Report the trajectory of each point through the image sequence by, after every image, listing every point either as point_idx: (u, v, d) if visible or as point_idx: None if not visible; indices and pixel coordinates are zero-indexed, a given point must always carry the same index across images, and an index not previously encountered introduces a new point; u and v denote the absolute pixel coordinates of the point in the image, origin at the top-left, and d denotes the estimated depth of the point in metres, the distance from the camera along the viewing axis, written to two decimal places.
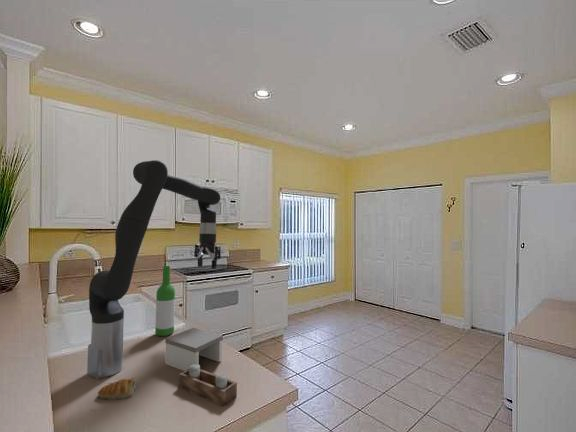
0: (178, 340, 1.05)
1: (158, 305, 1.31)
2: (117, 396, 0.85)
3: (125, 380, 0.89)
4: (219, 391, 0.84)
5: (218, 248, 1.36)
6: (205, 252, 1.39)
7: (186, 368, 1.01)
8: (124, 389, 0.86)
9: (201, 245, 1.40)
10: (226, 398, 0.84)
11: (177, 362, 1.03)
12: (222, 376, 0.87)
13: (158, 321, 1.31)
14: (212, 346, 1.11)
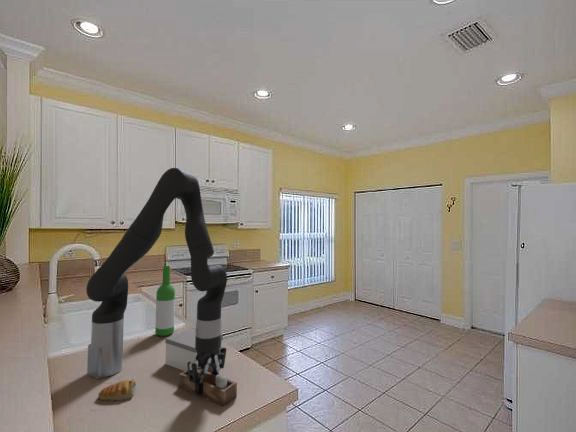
0: (178, 340, 1.05)
1: (158, 305, 1.31)
2: (118, 397, 0.85)
3: (126, 381, 0.88)
4: (219, 391, 0.84)
5: None
6: (210, 364, 0.89)
7: (186, 368, 1.01)
8: (125, 390, 0.85)
9: (203, 357, 0.87)
10: (226, 398, 0.84)
11: (177, 362, 1.03)
12: (222, 376, 0.87)
13: (158, 321, 1.31)
14: None
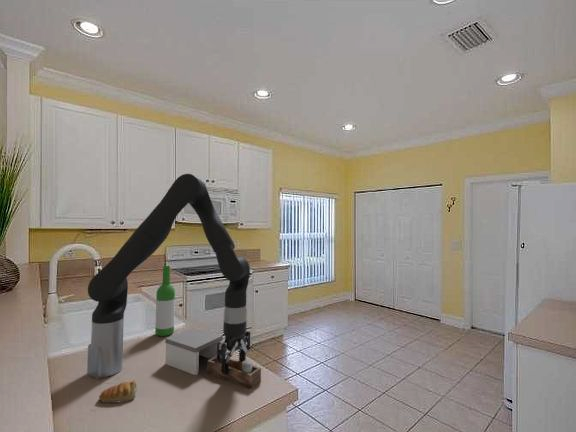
0: (178, 340, 1.05)
1: (158, 305, 1.31)
2: (120, 399, 0.84)
3: (127, 383, 0.88)
4: (246, 375, 0.93)
5: None
6: (236, 347, 0.98)
7: (186, 368, 1.01)
8: (127, 392, 0.85)
9: (231, 341, 0.96)
10: (252, 381, 0.93)
11: (177, 362, 1.03)
12: (248, 362, 0.96)
13: (158, 321, 1.31)
14: (212, 346, 1.11)
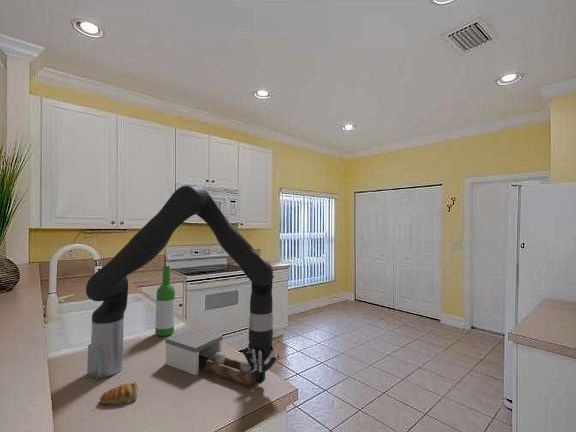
0: (178, 340, 1.05)
1: (158, 305, 1.31)
2: (122, 401, 0.83)
3: (128, 384, 0.87)
4: (244, 374, 0.93)
5: None
6: None
7: (186, 368, 1.01)
8: (129, 393, 0.84)
9: None
10: (251, 381, 0.93)
11: (177, 362, 1.03)
12: (246, 361, 0.97)
13: (158, 321, 1.31)
14: (212, 346, 1.11)
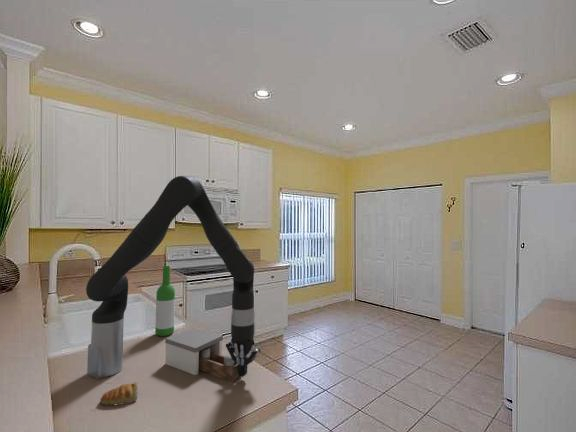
0: (178, 340, 1.05)
1: (158, 305, 1.31)
2: (122, 401, 0.83)
3: (128, 385, 0.87)
4: (227, 368, 0.97)
5: None
6: None
7: (186, 368, 1.01)
8: (129, 393, 0.84)
9: None
10: (233, 375, 0.97)
11: (177, 362, 1.03)
12: (230, 356, 1.00)
13: (158, 321, 1.31)
14: (212, 346, 1.11)
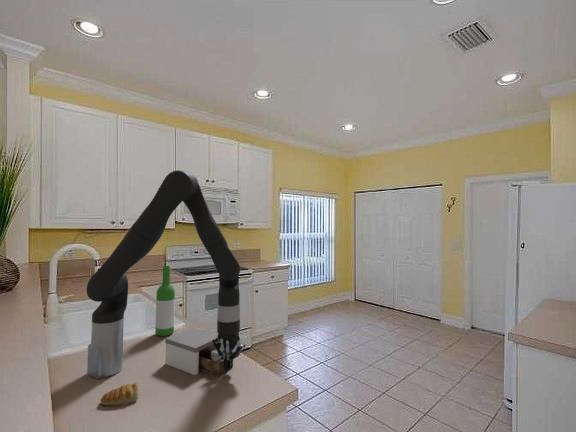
0: (178, 340, 1.05)
1: (158, 305, 1.31)
2: (123, 402, 0.83)
3: (128, 385, 0.87)
4: (214, 363, 1.00)
5: None
6: None
7: (186, 368, 1.01)
8: (130, 394, 0.84)
9: None
10: (220, 369, 1.00)
11: (177, 362, 1.03)
12: None
13: (158, 321, 1.31)
14: (212, 346, 1.11)
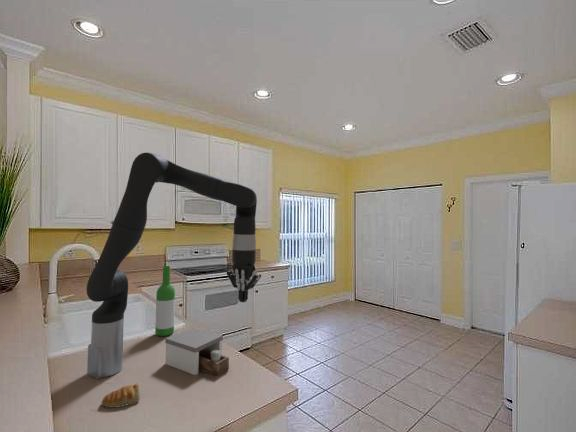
0: (178, 340, 1.05)
1: (158, 305, 1.31)
2: (124, 403, 0.82)
3: (129, 386, 0.86)
4: (213, 363, 1.00)
5: None
6: None
7: (186, 368, 1.01)
8: (132, 395, 0.83)
9: None
10: (219, 369, 1.00)
11: (177, 362, 1.03)
12: (216, 351, 1.03)
13: (158, 321, 1.31)
14: (212, 346, 1.11)
